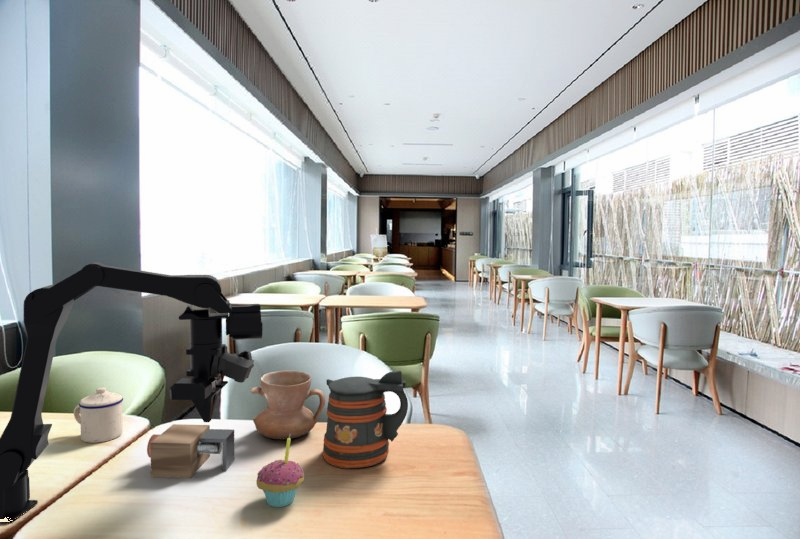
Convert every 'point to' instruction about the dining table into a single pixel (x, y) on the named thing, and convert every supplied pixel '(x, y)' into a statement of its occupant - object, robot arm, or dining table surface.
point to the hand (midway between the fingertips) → (207, 421)
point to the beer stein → (362, 420)
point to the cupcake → (280, 480)
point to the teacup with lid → (100, 416)
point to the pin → (201, 447)
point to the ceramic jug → (286, 405)
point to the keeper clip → (227, 444)
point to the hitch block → (177, 451)
